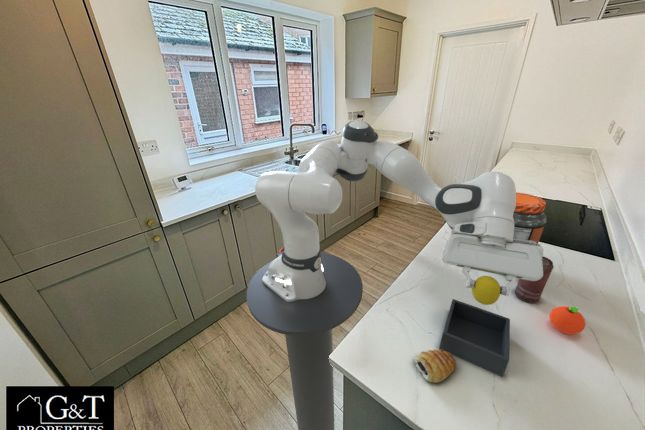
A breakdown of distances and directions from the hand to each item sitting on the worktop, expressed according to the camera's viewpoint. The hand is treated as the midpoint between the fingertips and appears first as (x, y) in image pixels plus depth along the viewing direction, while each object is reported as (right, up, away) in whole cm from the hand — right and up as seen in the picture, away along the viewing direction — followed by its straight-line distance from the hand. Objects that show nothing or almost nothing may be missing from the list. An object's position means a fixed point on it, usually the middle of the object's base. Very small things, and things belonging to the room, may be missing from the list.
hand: (486, 291), depth 60 cm
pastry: (-12, -19, +2) cm, 22 cm away
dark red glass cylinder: (+25, -8, +21) cm, 34 cm away
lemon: (0, -4, +3) cm, 5 cm away
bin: (+1, -15, +8) cm, 17 cm away
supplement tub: (+28, 0, +36) cm, 46 cm away
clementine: (+27, -13, +10) cm, 32 cm away
